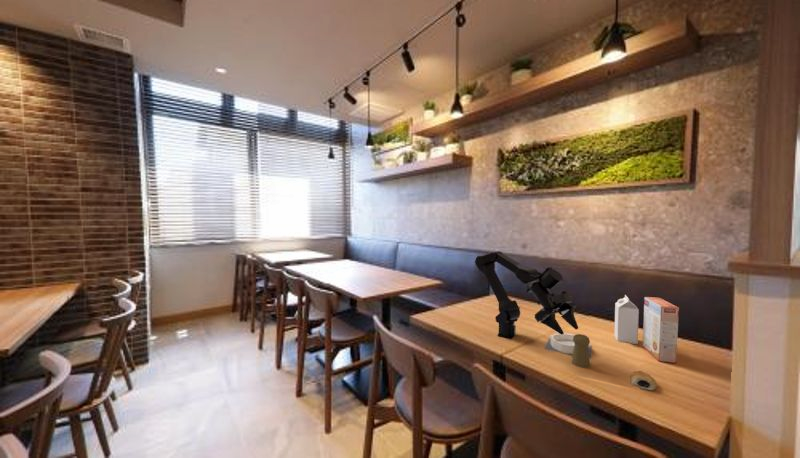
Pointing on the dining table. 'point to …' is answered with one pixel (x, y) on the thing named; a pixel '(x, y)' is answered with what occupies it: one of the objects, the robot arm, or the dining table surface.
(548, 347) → the mat
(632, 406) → the dining table surface
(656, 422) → the dining table surface
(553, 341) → the bowl
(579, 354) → the pepper mill
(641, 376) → the pastry
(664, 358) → the cracker box
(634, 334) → the milk carton
